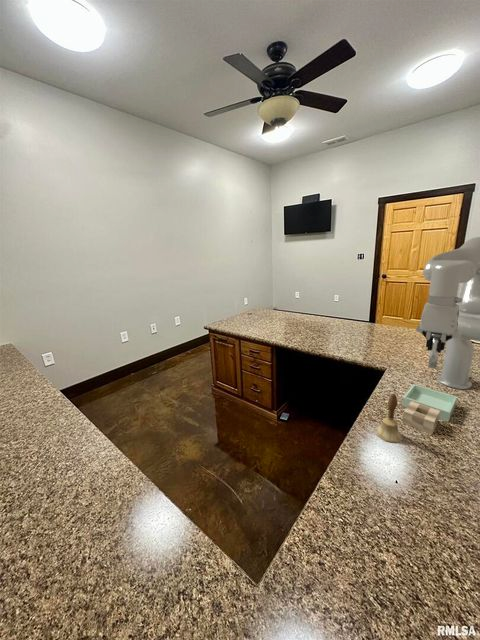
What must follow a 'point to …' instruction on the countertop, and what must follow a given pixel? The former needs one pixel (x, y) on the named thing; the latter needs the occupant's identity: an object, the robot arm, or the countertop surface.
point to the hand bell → (389, 424)
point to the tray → (431, 400)
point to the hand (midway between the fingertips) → (434, 350)
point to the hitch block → (421, 417)
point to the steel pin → (434, 349)
